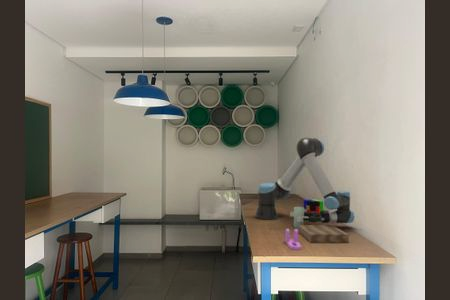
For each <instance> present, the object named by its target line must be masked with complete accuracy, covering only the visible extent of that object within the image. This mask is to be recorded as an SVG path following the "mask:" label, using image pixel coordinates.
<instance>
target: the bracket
mask: <svg viewBox="0 0 450 300" xmlns="http://www.w3.org/2000/svg"><path fill="white" fill-rule="evenodd" d="M284 233H285V238H284V239H285V243H286V245H287V246H288V248H289V250H294V251H295V250H296V251H300V250H301V249H302V245H301V243H300V242H299V233H298V228H294V229H293V238H291V237H290V235H291V234H290V233H291V232H290V229H289V228H285V232H284Z"/></svg>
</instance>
